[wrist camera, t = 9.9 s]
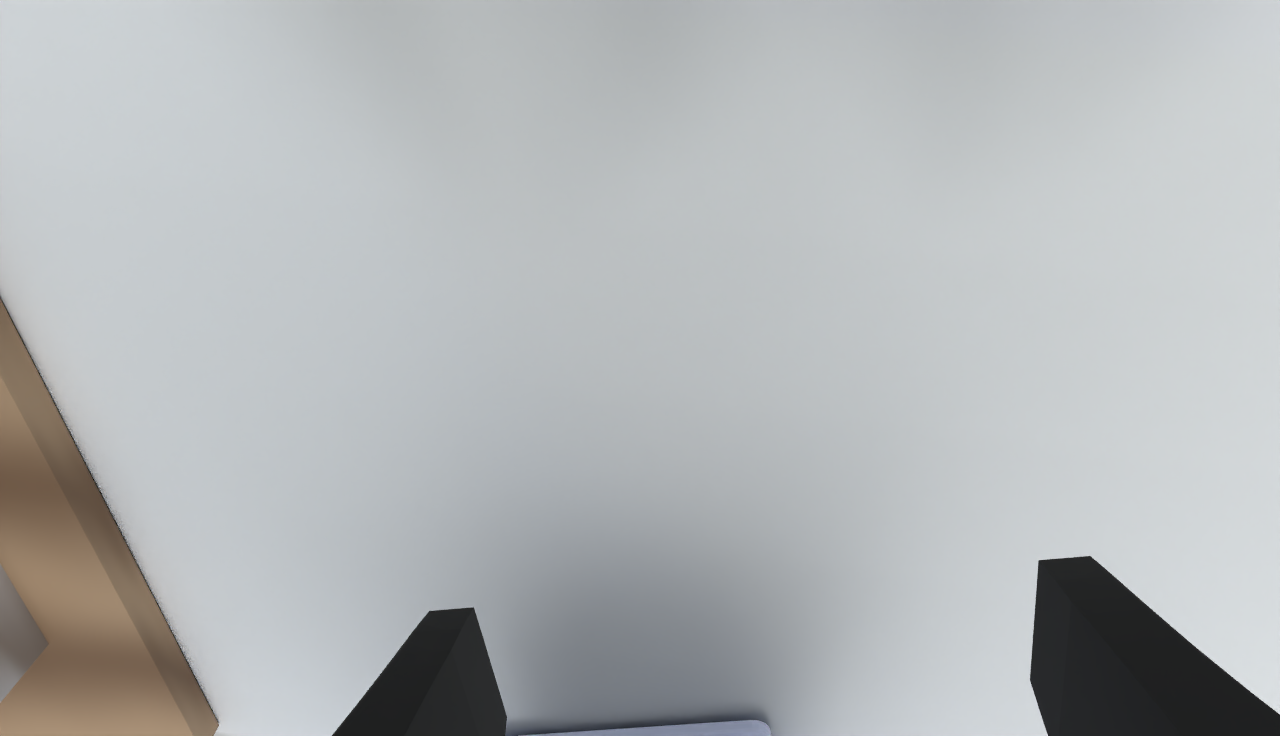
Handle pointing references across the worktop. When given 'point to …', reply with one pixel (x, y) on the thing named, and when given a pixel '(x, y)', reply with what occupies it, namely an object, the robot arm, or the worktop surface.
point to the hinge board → (74, 589)
